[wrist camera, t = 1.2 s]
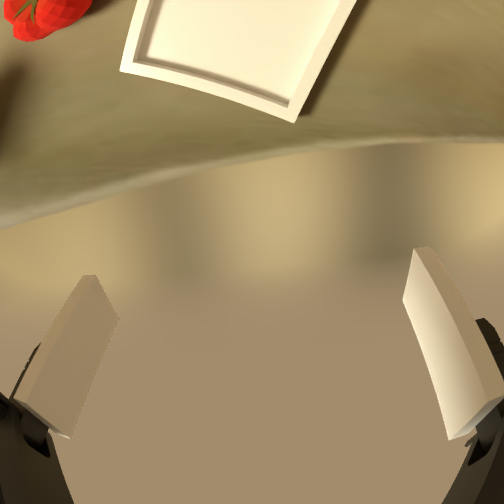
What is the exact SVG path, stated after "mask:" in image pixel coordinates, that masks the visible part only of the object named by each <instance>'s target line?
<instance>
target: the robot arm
mask: <svg viewBox="0 0 504 504" xmlns="http://www.w3.org/2000/svg"><path fill="white" fill-rule="evenodd" d="M403 303H404V305H405V308H406V310H407V313H408V315H409V318H410V320H411V323H412V325H413V328H414V330H415V333H416V336H417V338H418V341H419V344H420V347H421V349H422V352H423V355H424V358H425V361H426V363H427V366H428V369H429V372H430V376H431V379H432V382H433V385H434V388H435V391H436V395H437V398H438V401H439V405H440V408H441V412H442V416H443V419H444V423H445V427H446V431H447V435H448V439H449V440H451V439H454V438H457V437H460V436H463V435H465V434H468V433H469V432H470V431H471V430H472V429H473V428H474V427H475V426H476V430H477V434H475V435H474V436H473V437H472V438H471V439H470V440H468V441H467V443H466V444H465V447H468V446H469V445H470V444H471V443H472V444H471V447H470V449H469V451H468V454H467V456H466V458H465V460H464V462H463V464H462V467H461V469H460V471H459V473H458V475H457V477H456V479H455V481H454V482H453V484H452V487H451V488H450V490H449V492H448V494H447V495H446V497H445V499H444V501H443V502H442V504H504V346H503V344H502V342H500V338H499V336H498V334H497V332H496V331H495V328H494V327H493V326H492V325H491V324H490V323H489V322H488V321H487V320H486V319H485V318H482V319H477V320H475V319H474V318H473V316H472V314H471V312H470V310H469V308H468V306H467V305H466V303H465V301H464V300H463V298H462V296H461V294H460V293H459V291H458V289H457V288H456V286H455V284H454V283H453V281H452V279H451V278H450V276H449V275H448V273H447V271H446V270H445V268H444V267H443V265H442V264H441V262H440V260H439V259H438V257H437V256H436V254H435V253H434V251H433V250H432V249H431V247H421V248H414V250H413V255H412V260H411V265H410V270H409V274H408V279H407V284H406V288H405V292H404V296H403ZM118 321H119V317H118V315H117V313H116V312H115V310H114V308H113V306H112V304H111V303H110V301H109V299H108V297H107V295H106V293H105V292H104V290H103V288H102V286H101V284H100V282H99V280H98V278H97V276H96V275H85V276H83V277H82V278H81V280H80V281H79V283H78V284H77V286H76V287H75V289H74V290H73V292H72V293H71V295H70V296H69V298H68V300H67V301H66V303H65V304H64V306H63V307H62V309H61V310H60V312H59V314H58V316H57V317H56V319H55V320H54V322H53V324H52V325H51V327H50V329H49V330H48V332H47V334H46V336H45V337H44V339H43V341H42V342H41V343H40V344H39V345H38V346H37V347H36V348H35V349H34V351H33V353H32V355H31V357H30V358H29V362H27V364H26V366H25V370H23V371H22V373H21V375H20V377H19V380H18V381H17V383H16V386H15V388H14V390H13V392H12V394H11V396H10V398H9V399H7V398H6V397H5V396H4V395H3V394H2V393H1V392H0V504H74V502H73V500H72V497H71V495H70V492H69V490H68V487H67V484H66V482H65V479H64V476H63V473H62V470H61V467H60V464H59V460H58V457H57V454H56V450H55V447H54V443H53V440H52V437H51V435H50V433H48V429H49V428H50V429H51V430H53V431H54V432H55V433H57V434H59V435H61V436H64V437H67V438H70V439H71V438H72V435H73V432H74V430H75V427H76V424H77V421H78V418H79V415H80V413H81V410H82V407H83V404H84V402H85V399H86V397H87V394H88V392H89V389H90V386H91V384H92V381H93V379H94V376H95V374H96V371H97V369H98V367H99V364H100V362H101V359H102V357H103V355H104V353H105V350H106V348H107V345H108V343H109V341H110V338H111V337H112V334H113V332H114V330H115V328H116V326H117V323H118Z"/></svg>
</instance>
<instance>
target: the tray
mask: <svg viewBox="0 0 504 504" xmlns="http://www.w3.org/2000/svg"><path fill="white" fill-rule="evenodd" d="M356 1H357V0H138V1H137V4H136V8H135V11H134V14H133V18H132V21H131V25H130V29H129V33H128V37H127V41H126V45H125V49H124V53H123V58H122V62H121V67H120V71H121V72H126V73H132V74H136V75H141V76H146V77H150V78H155V79H159V80H163V81H167V82H171V83H175V84H179V85H182V86H186V87H190V88H193V89H197V90H200V91H204V92H207V93H210V94H214V95H217V96H220V97H223V98H226V99H229V100H232V101H235V102H238V103H241V104H244V105H247V106H250V107H253V108H255V109H258V110H261V111H264V112H266V113H269V114H272V115H274V116H277V117H279V118H282V119H284V120H287V121H289V122H292V123H294V122H295V120H296V118H297V116H298V114H299V112H300V110H301V108H302V106H303V104H304V102H305V100H306V98H307V96H308V94H309V92H310V90H311V88H312V86H313V84H314V82H315V80H316V78H317V76H318V74H319V72H320V70H321V68H322V66H323V64H324V62H325V61H326V59H327V57H328V55H329V53H330V51H331V49H332V47H333V45H334V43H335V41H336V39H337V37H338V35H339V33H340V31H341V29H342V27H343V25H344V24H345V22H346V20H347V18H348V16H349V14H350V12H351V10H352V8H353V6H354V4H355V3H356Z"/></svg>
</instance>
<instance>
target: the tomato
mask: <svg viewBox="0 0 504 504" xmlns="http://www.w3.org/2000/svg"><path fill="white" fill-rule="evenodd" d="M92 1H93V0H5V2H4V18H5V19H6V20H8V21H9V22H10V23H11V24H13V25H14V27H13V33H14V37H15V38H17V39H19V40H22V41H26V42H29V41H35V40H39V39H43V38H45V37H46V36H48V35H50V34H51V33H53V32H54V31H56V30H59V29H62V28H65V27H67V26H69V25H71V24H72V23H74V22H75V21H77V20H78V19H80V18H81V17H82V16H83V15H84V13H85V12H86V11H87V10H88V8H89V7H90V6H91V4H92Z"/></svg>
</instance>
